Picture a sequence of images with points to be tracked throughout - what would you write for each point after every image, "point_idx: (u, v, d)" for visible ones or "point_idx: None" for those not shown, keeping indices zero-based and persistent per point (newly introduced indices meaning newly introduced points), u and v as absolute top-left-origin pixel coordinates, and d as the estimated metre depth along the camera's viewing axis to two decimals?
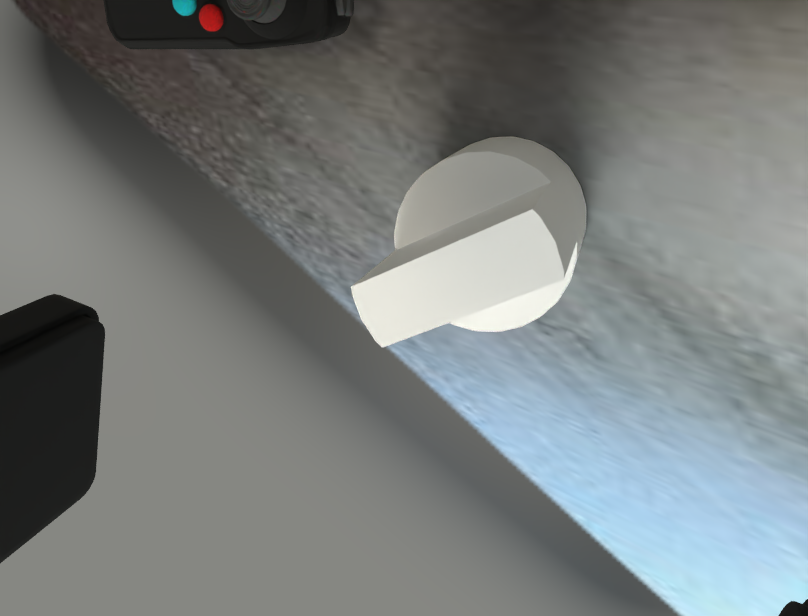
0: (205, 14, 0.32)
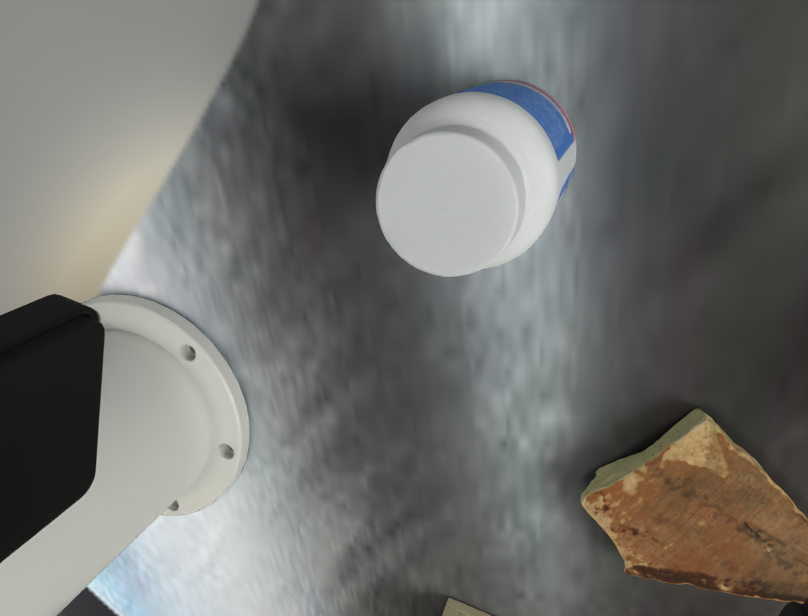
0: None
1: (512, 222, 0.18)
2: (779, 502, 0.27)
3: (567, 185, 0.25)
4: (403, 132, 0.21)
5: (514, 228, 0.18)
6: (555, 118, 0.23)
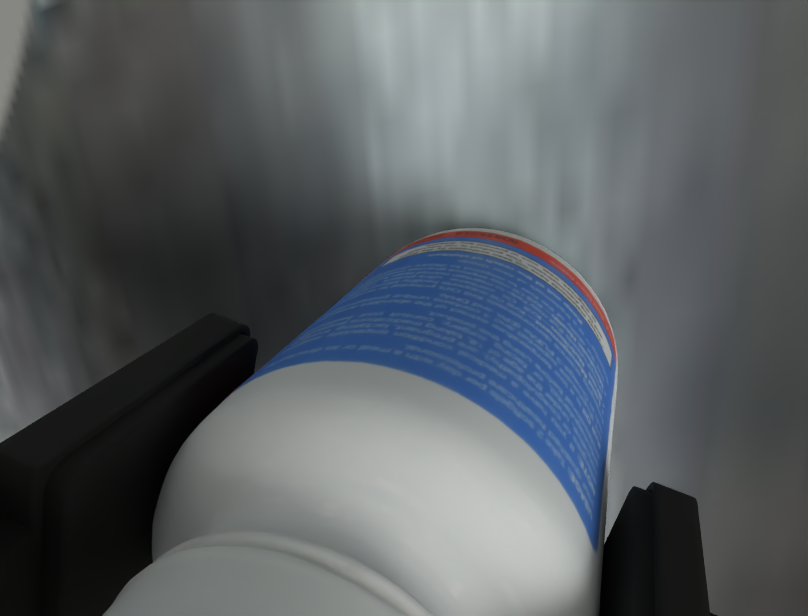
0: None
1: None
2: None
3: None
4: (179, 467, 0.08)
5: None
6: (583, 364, 0.10)
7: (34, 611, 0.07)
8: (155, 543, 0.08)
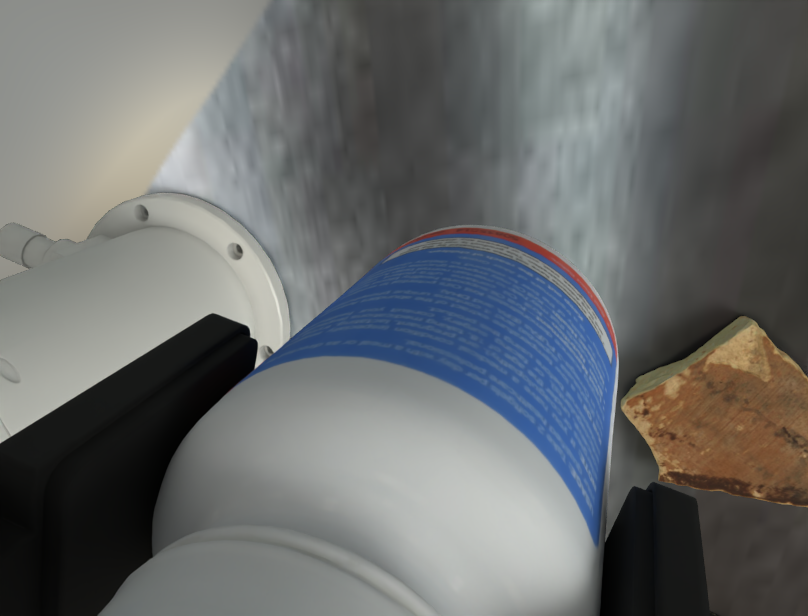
0: None
1: None
2: None
3: None
4: (180, 462, 0.08)
5: None
6: (584, 360, 0.10)
7: (34, 611, 0.07)
8: (155, 539, 0.08)
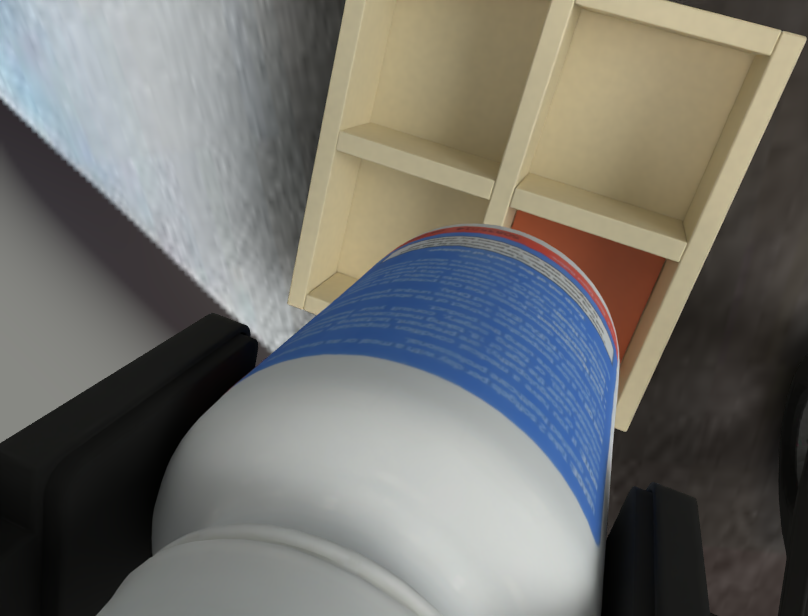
0: None
1: None
2: None
3: None
4: (179, 461, 0.08)
5: None
6: (585, 359, 0.10)
7: (35, 611, 0.07)
8: (155, 537, 0.08)
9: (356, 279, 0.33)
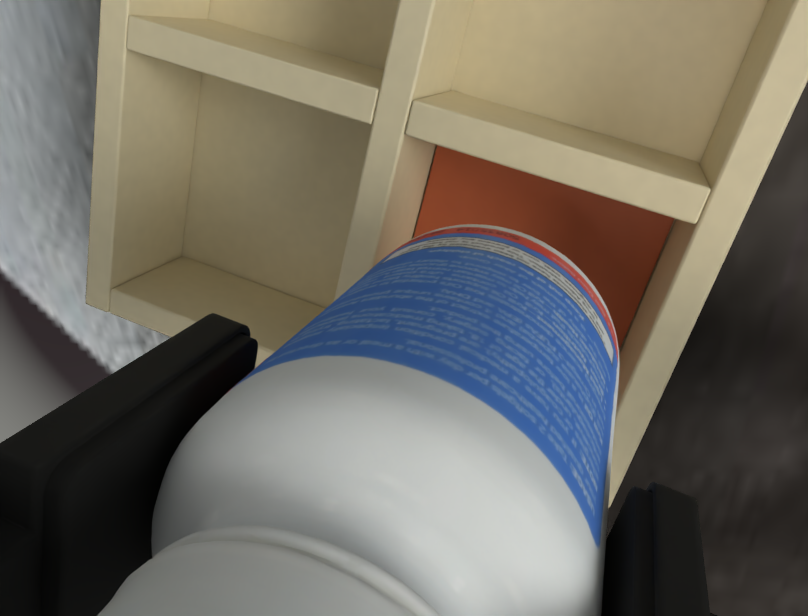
0: None
1: None
2: None
3: None
4: (179, 462, 0.08)
5: None
6: (585, 360, 0.10)
7: (34, 611, 0.07)
8: (155, 539, 0.08)
9: (209, 266, 0.22)
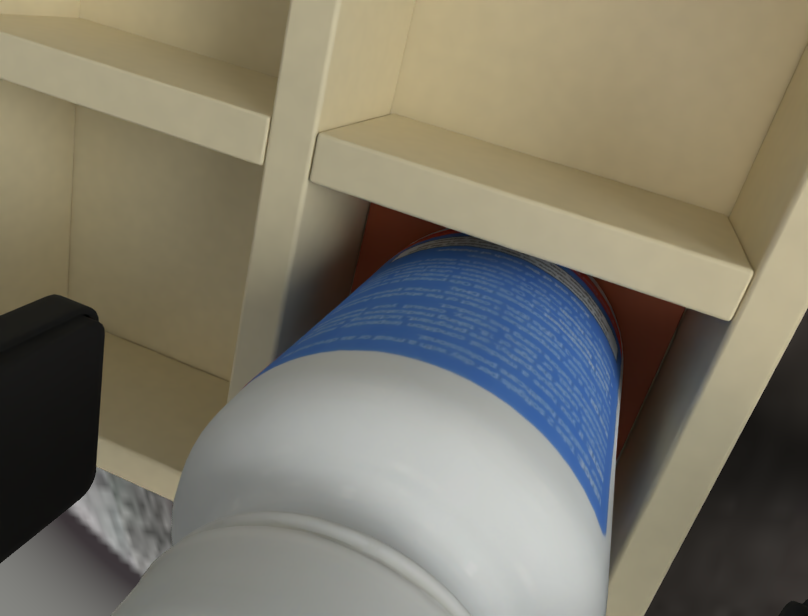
0: None
1: None
2: None
3: None
4: (200, 453, 0.08)
5: None
6: (590, 356, 0.10)
7: None
8: (175, 528, 0.08)
9: None
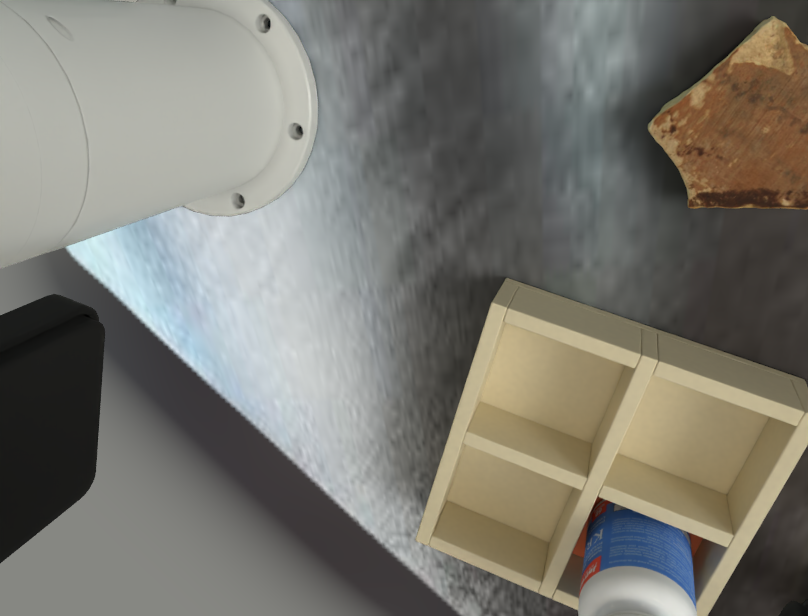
0: None
1: None
2: None
3: None
4: (597, 591, 0.32)
5: None
6: (686, 554, 0.35)
7: None
8: (586, 608, 0.33)
9: (463, 507, 0.42)
